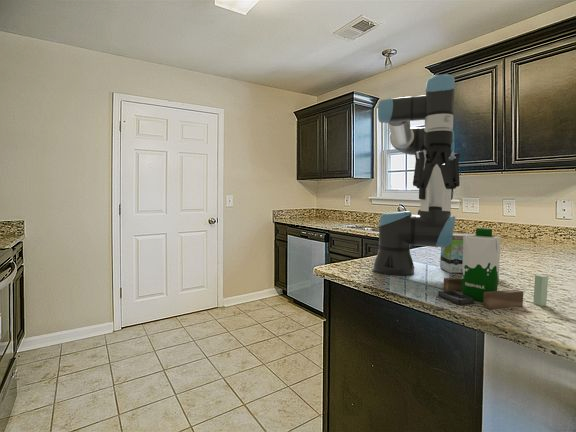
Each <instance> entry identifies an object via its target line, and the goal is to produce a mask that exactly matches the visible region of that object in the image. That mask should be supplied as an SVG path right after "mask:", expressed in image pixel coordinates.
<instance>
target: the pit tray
mask: <svg viewBox="0 0 576 432" xmlns="http://www.w3.org/2000/svg"><path fill="white" fill-rule="evenodd" d="M437 296H438V298H441V299H444V300H445V301H449V302H450V303H453V304H455V305H456V306H464V305H465V306H466V305H475V300H474V298H472V297H469V296H467V295H464V294H462V292H456V291H453V290H450V291H443V290H441V291H440V290H439V291H438V294H437Z"/></svg>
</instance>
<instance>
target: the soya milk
mask: <svg viewBox="0 0 576 432" xmlns="http://www.w3.org/2000/svg"><path fill="white" fill-rule="evenodd" d="M475 234H476V235H466V236H464V237H463V264H462V273H461V277H462V292H461V294H464V295H467V296H469V297H472V298H474V302H475V301H476V302H480V303H483V299H484V292H490V291H498V288H499V287H498V286H499V277H500V262H501V261H500V259H501V257H500V256H501V236H495V235H493V229H492V228H486V227H485V228H484V227H483V228H482V227H481V228H480V227H479V228H475Z"/></svg>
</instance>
